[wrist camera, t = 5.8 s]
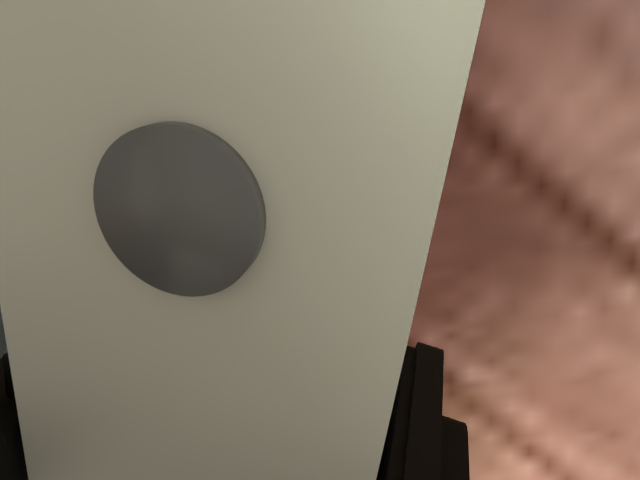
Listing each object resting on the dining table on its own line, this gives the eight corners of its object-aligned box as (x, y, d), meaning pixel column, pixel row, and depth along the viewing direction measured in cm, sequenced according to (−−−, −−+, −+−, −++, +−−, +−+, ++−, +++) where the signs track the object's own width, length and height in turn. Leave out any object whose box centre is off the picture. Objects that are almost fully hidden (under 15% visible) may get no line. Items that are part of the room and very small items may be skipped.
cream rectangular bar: (193, -208, 8) (-165, -540, 3) (513, -190, 7) (626, -604, 3) (182, 580, 16) (73, 802, 11) (333, 632, 15) (281, 896, 11)
